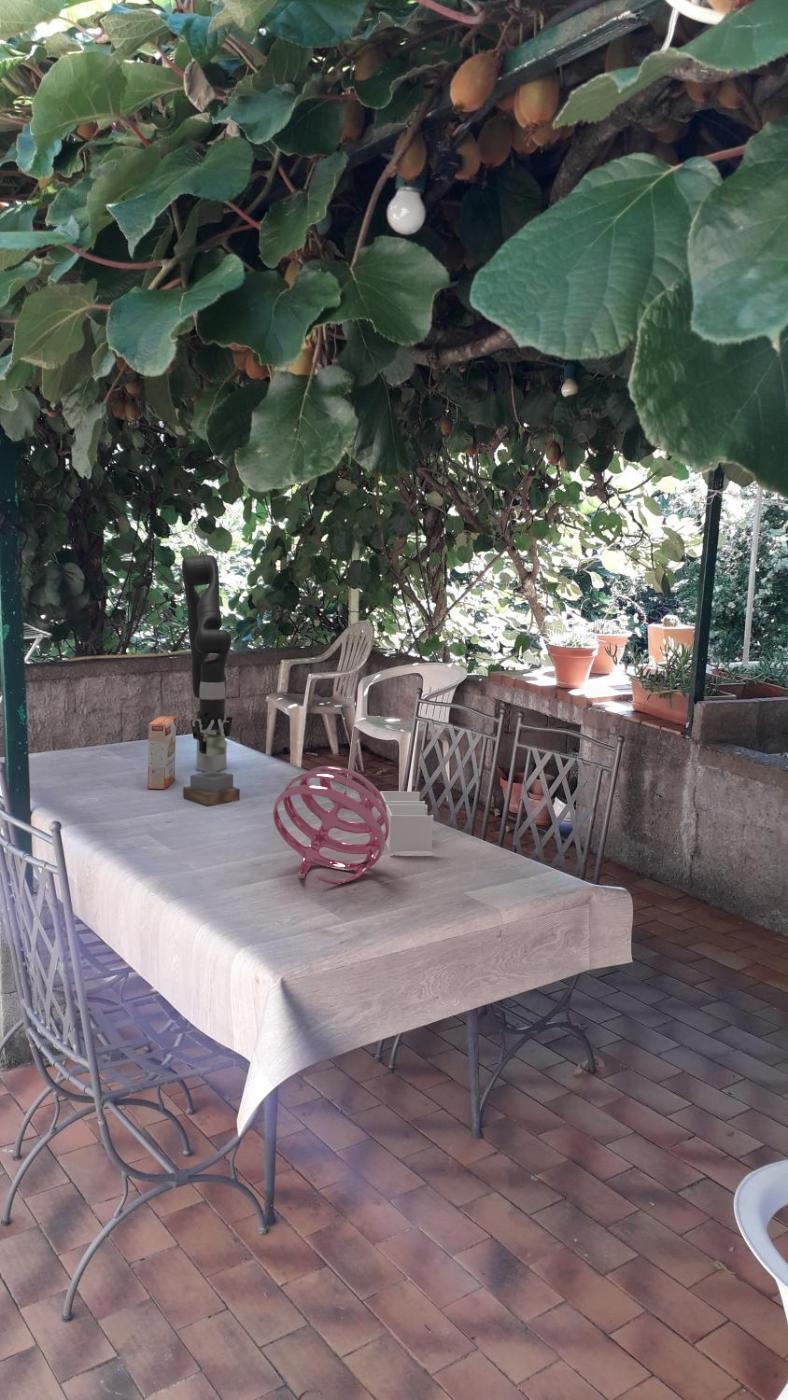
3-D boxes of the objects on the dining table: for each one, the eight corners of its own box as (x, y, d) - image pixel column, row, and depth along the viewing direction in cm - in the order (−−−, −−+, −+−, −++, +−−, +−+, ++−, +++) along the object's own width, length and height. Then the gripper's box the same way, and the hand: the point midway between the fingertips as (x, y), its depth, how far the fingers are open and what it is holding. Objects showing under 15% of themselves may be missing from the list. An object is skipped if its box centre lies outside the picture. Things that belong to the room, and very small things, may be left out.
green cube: (213, 751, 316) (213, 733, 315) (224, 754, 312) (224, 736, 311) (198, 753, 312) (198, 735, 311) (209, 756, 308) (210, 738, 307)
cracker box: (166, 790, 322) (166, 724, 319) (146, 789, 323) (147, 723, 319) (176, 779, 336) (177, 716, 333) (157, 779, 336) (158, 715, 333)
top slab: (209, 783, 320) (209, 770, 319) (233, 787, 316) (233, 774, 315) (190, 788, 312) (190, 775, 311) (214, 793, 308) (214, 780, 307)
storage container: (378, 829, 291) (380, 791, 289) (417, 829, 292) (419, 791, 290) (389, 857, 266) (390, 815, 264) (431, 857, 268) (433, 816, 266)
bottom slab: (215, 793, 323) (215, 781, 322) (239, 801, 315) (239, 789, 314) (183, 800, 314) (183, 787, 313) (207, 808, 306) (207, 795, 305)
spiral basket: (327, 824, 223) (372, 737, 241) (230, 831, 238) (279, 748, 256) (385, 907, 237) (423, 819, 255) (290, 909, 252) (332, 826, 270)
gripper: (223, 692, 317) (222, 747, 320) (184, 696, 306) (184, 752, 309) (239, 696, 312) (238, 751, 315) (200, 700, 301) (199, 757, 304)
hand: (211, 751), depth 312 cm, fingers closed on green cube, 5 cm apart
